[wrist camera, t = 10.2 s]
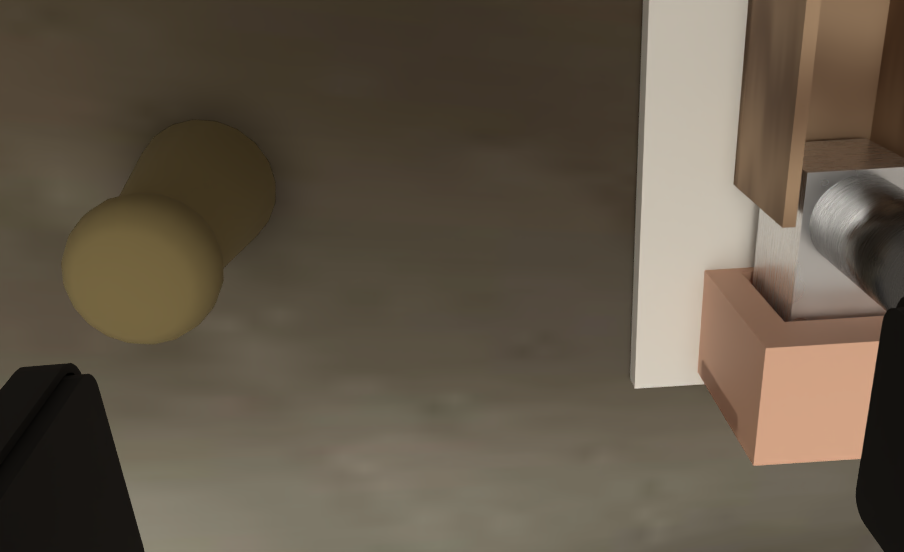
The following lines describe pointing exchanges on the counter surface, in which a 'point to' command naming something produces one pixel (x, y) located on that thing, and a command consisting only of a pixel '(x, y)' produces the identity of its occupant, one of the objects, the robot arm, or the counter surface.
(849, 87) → the walnut sleeve
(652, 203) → the grey base board
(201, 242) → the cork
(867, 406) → the terracotta socket
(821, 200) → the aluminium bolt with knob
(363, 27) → the counter surface
